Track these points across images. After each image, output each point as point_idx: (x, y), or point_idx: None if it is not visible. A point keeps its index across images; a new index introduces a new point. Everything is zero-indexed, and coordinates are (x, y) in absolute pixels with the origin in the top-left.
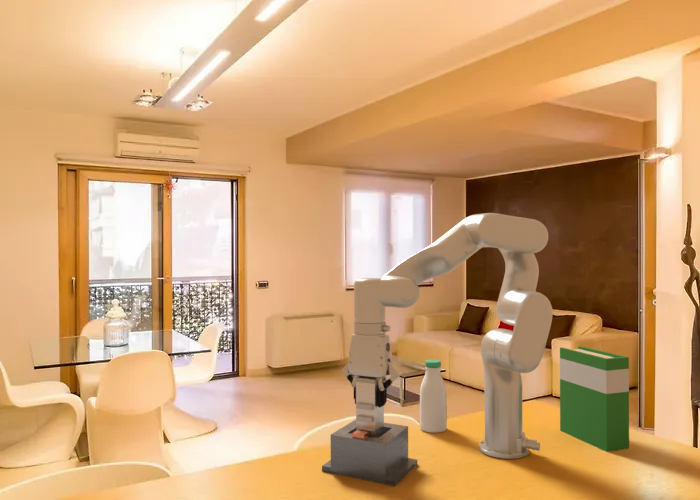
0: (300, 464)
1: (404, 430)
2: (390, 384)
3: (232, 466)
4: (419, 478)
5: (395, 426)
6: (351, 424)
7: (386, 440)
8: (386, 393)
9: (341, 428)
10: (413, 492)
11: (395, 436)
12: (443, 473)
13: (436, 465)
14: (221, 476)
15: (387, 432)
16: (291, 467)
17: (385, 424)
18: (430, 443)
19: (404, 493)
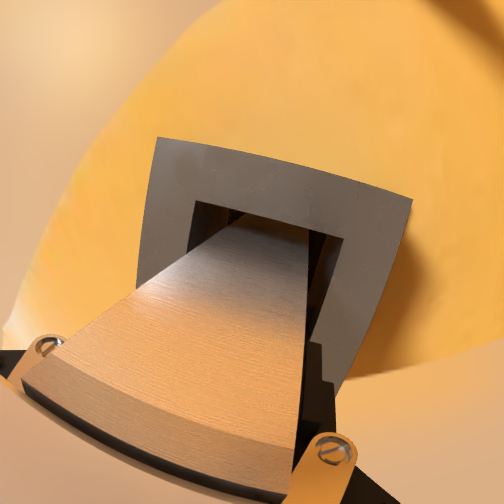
0: (103, 262)
1: (398, 242)
2: (374, 494)
3: (26, 291)
4: (409, 291)
5: (357, 213)
6: (155, 228)
7: (333, 381)
8: (334, 422)
9: (138, 284)
10: (391, 363)
11: (365, 332)
12: (465, 247)
13: (451, 195)
14: (37, 331)
15: (330, 302)
16: (96, 281)
17: (304, 192)
18: (409, 27)
19: (372, 371)
